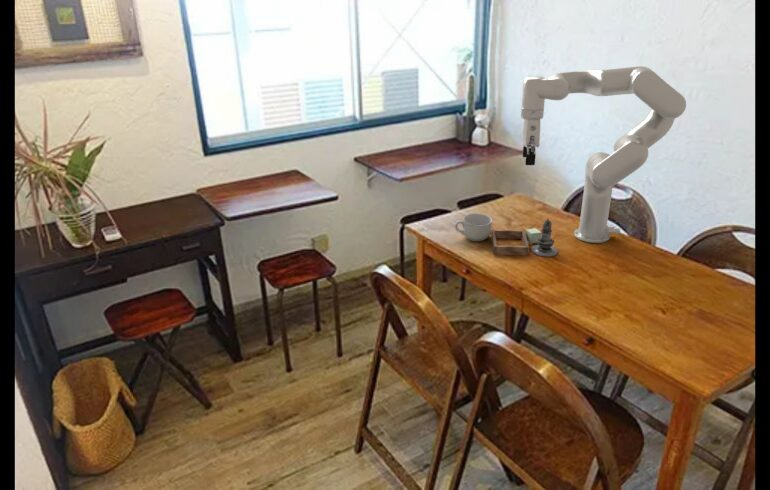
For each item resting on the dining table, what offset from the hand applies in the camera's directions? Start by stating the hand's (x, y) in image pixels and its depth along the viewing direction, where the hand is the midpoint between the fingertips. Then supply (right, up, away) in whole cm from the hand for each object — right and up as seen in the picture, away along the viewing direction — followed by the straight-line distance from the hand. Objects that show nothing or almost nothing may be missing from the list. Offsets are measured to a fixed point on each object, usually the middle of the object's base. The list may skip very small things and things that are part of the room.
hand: (528, 160), depth 206 cm
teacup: (-19, -28, +9) cm, 35 cm away
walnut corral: (-7, -31, +2) cm, 31 cm away
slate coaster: (+5, -33, -3) cm, 33 cm away
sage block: (+3, -29, +5) cm, 29 cm away
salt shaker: (+5, -32, -3) cm, 33 cm away
